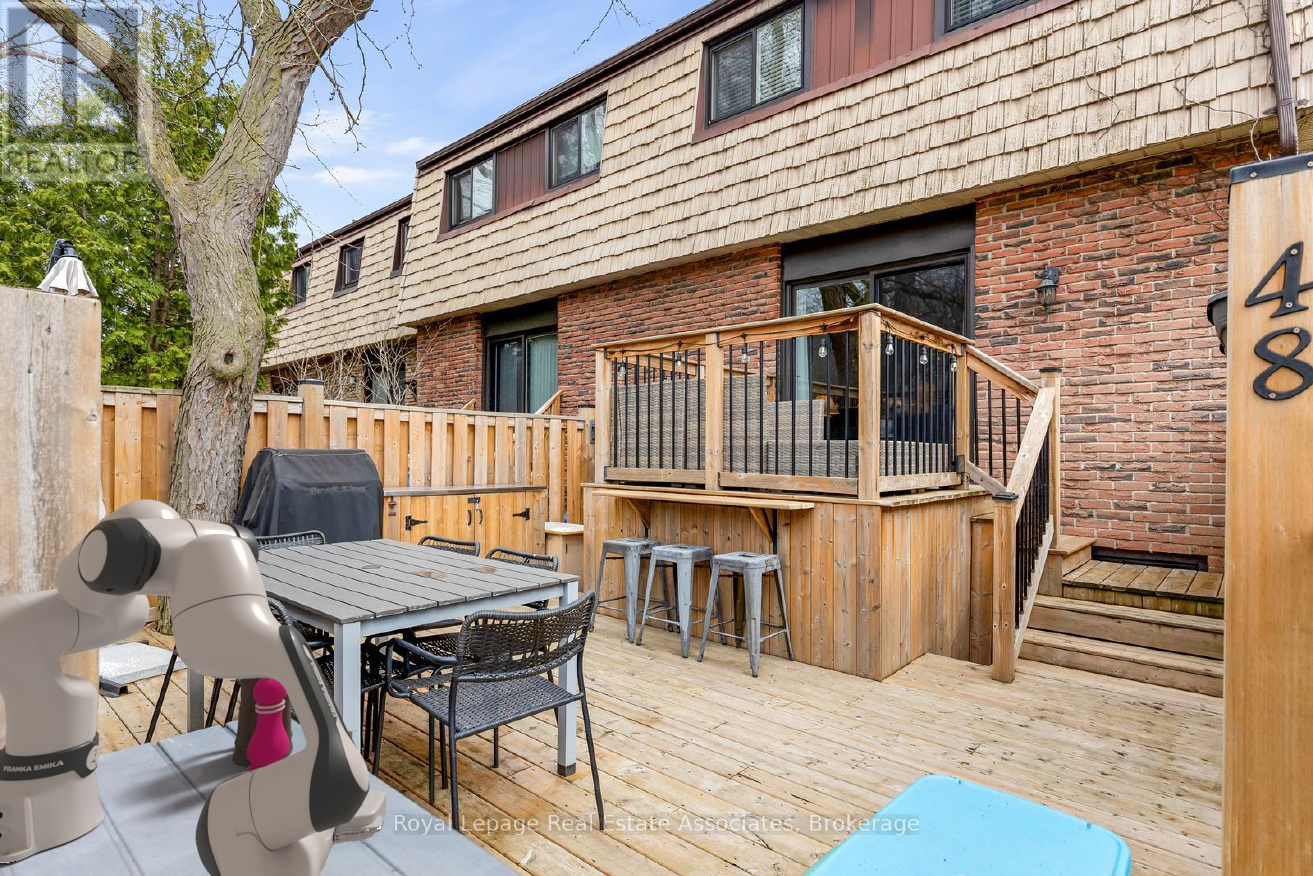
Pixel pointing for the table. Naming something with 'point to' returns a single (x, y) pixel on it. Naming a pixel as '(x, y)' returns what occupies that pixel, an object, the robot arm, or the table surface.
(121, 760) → the table surface
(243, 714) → the beer stein
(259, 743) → the pepper mill
